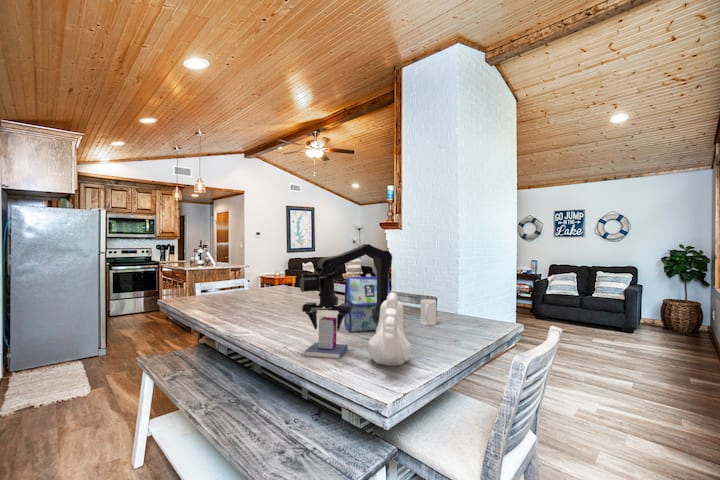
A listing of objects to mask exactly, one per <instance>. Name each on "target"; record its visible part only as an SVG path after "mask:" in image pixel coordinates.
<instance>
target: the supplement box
mask: <svg viewBox="0 0 720 480" xmlns="http://www.w3.org/2000/svg"><path fill="white" fill-rule="evenodd" d="M317 343H318V349H319V350H333V348H334V347H336V344H337V317H330V316H329V317H327V316H323V317H321V318H319V320H318V341H317Z"/></svg>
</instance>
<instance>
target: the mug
mask: <svg viewBox="0 0 720 480" xmlns="http://www.w3.org/2000/svg"><path fill="white" fill-rule="evenodd" d="M419 324H421V325H423V326H435V325H437V300H435V299H421V300H420V323H419Z"/></svg>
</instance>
